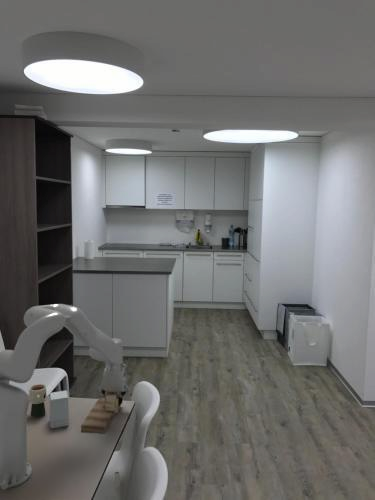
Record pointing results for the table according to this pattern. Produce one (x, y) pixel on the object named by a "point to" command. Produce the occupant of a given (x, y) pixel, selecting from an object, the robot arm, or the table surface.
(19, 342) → the robot arm
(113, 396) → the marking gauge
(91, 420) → the walnut board
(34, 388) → the character mug
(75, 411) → the table surface
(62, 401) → the supplement box
